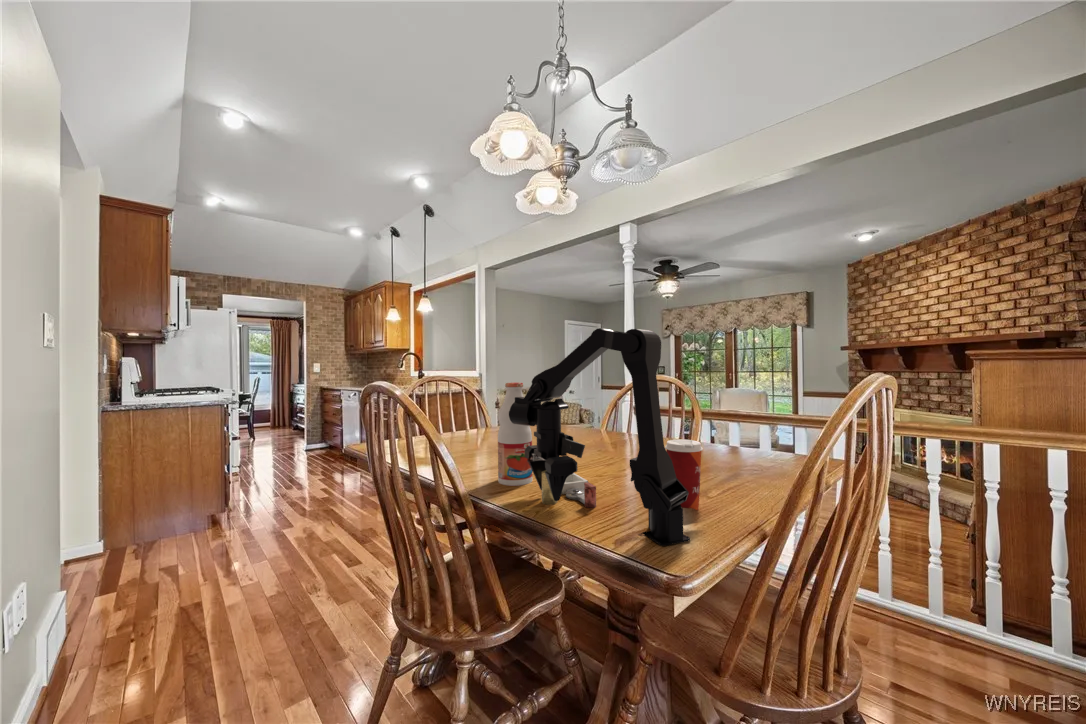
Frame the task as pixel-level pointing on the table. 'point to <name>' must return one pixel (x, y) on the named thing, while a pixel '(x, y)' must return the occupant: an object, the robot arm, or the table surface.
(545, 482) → the pin
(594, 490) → the crank
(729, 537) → the table surface
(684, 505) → the coffee cup
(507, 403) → the fruit juice
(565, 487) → the tray
